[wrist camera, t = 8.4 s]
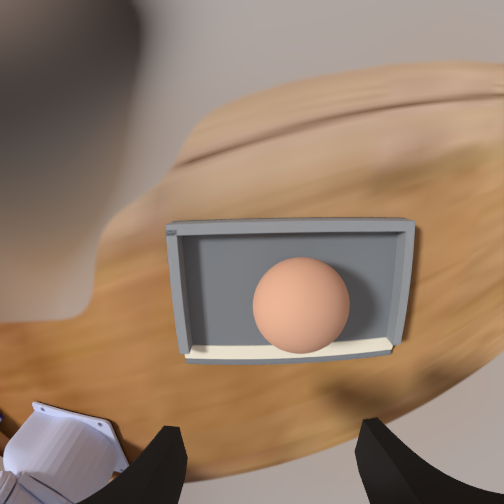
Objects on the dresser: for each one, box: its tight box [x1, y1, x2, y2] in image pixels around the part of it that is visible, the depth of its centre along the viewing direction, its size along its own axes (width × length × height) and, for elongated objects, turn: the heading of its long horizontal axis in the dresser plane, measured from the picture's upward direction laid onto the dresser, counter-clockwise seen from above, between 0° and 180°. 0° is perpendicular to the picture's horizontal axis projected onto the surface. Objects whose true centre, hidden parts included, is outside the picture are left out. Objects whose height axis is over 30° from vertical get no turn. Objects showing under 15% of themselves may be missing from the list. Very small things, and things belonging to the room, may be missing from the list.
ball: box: [253, 257, 350, 354], centre depth 16 cm, size 5×5×5 cm
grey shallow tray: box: [166, 217, 415, 365], centre depth 18 cm, size 14×9×2 cm
